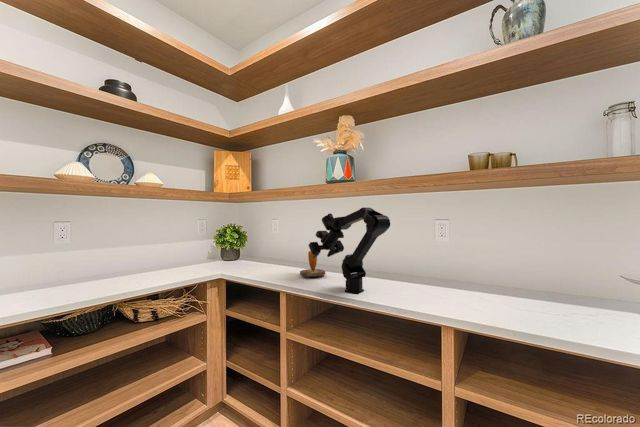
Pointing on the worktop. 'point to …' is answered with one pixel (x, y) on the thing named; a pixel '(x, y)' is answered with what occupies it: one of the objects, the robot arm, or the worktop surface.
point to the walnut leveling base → (312, 273)
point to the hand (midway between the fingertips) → (320, 257)
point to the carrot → (312, 261)
